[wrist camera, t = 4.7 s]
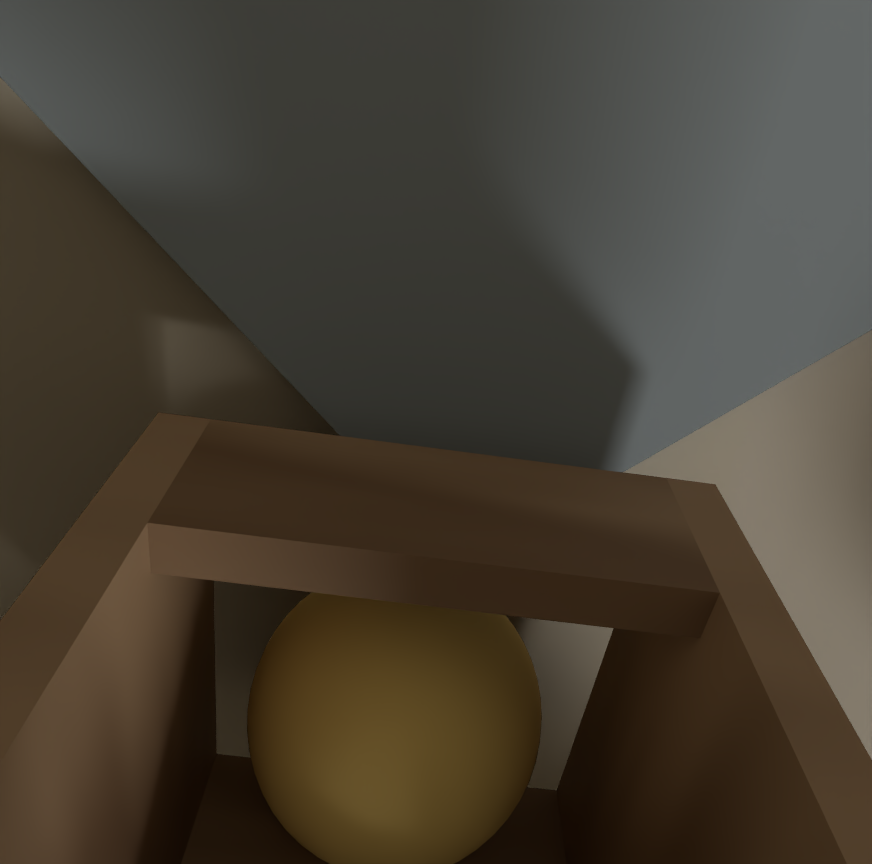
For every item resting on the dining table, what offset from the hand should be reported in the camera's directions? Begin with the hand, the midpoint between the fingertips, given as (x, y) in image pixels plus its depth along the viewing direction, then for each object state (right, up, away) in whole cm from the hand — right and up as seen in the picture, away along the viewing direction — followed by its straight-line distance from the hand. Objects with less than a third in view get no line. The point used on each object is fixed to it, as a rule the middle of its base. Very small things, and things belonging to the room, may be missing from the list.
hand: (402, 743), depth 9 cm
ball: (0, 0, +1) cm, 1 cm away
